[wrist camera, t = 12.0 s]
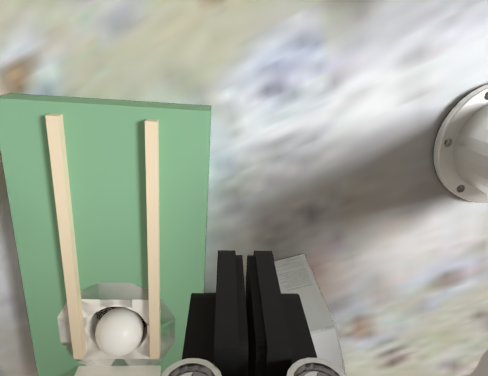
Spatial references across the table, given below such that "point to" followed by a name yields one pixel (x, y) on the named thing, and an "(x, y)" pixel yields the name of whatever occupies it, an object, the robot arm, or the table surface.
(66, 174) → the green
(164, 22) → the table surface
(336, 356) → the skincare box
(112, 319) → the ball
